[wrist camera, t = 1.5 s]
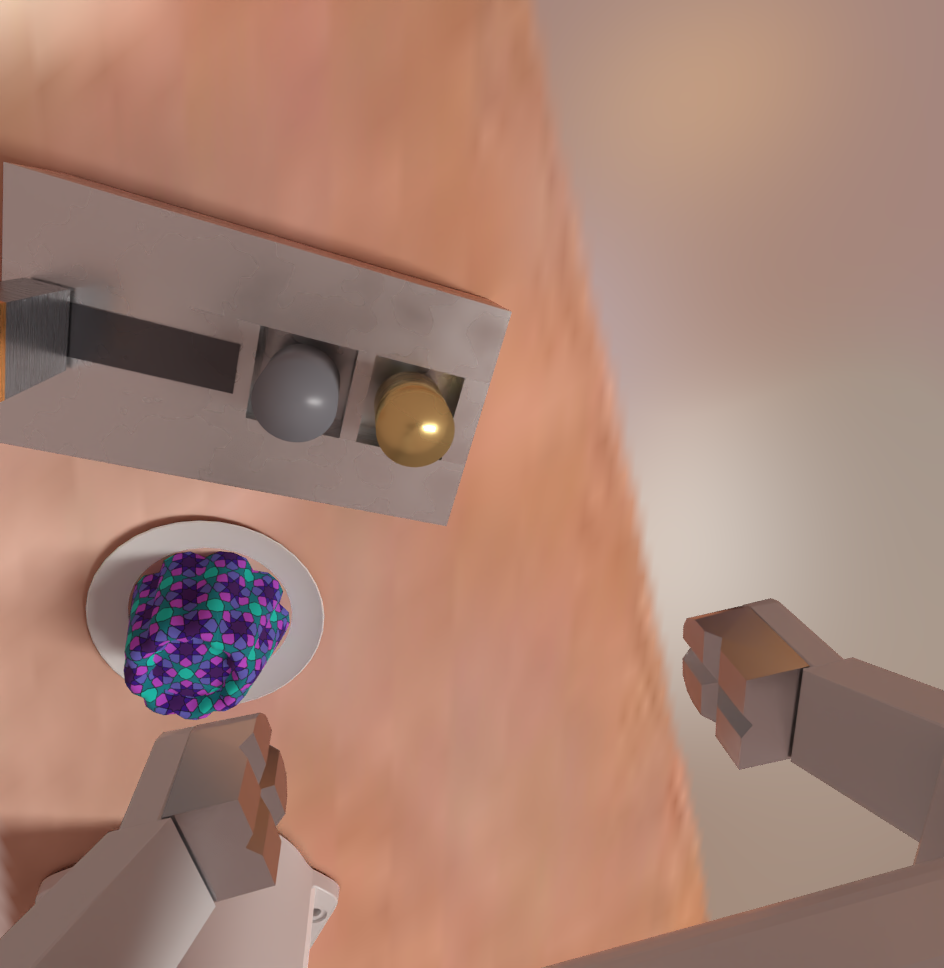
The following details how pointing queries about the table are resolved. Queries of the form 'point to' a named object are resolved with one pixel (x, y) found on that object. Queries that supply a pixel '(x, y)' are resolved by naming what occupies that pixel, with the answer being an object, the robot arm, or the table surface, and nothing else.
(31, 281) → the slider
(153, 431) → the panel
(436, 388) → the button brass
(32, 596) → the table surface
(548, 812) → the table surface
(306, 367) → the button slate
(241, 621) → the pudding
